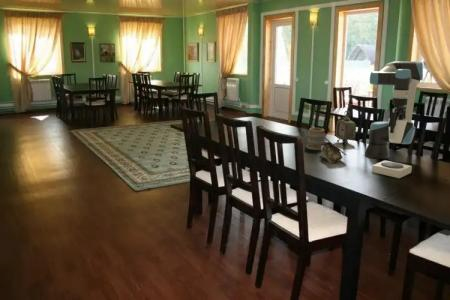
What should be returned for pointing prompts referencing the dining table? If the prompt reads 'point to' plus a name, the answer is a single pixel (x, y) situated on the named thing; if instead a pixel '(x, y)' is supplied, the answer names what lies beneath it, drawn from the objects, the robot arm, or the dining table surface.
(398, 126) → the foam cup
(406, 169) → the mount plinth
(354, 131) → the tabletop clock
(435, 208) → the dining table surface
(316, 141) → the tankard
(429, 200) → the dining table surface
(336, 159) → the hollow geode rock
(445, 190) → the dining table surface
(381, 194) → the dining table surface
